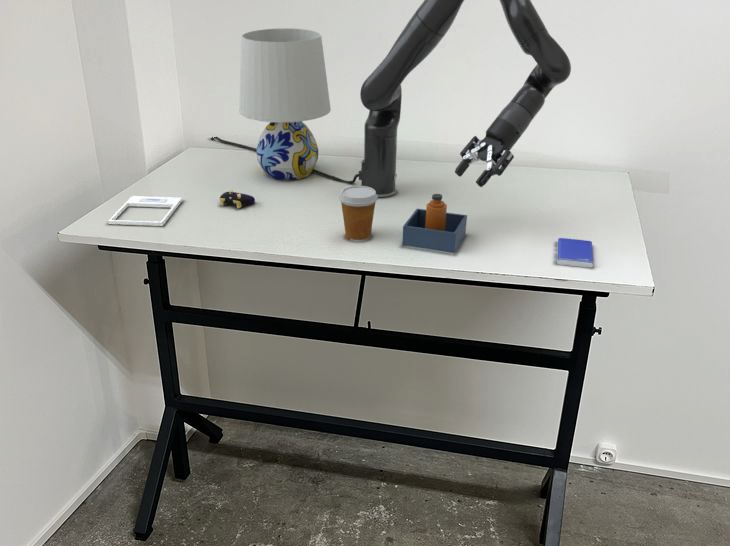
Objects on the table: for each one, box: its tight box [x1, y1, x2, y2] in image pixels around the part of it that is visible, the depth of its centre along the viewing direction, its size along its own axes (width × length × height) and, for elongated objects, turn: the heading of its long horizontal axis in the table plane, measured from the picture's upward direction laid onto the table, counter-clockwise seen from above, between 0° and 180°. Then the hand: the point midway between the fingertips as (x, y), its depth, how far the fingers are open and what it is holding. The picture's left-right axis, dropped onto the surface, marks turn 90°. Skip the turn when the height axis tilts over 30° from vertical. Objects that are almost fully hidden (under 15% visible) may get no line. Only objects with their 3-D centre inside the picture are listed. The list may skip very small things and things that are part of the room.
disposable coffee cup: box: [338, 185, 379, 241], centre depth 179 cm, size 10×10×12 cm
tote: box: [401, 208, 468, 254], centre depth 178 cm, size 13×12×6 cm
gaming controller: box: [219, 190, 256, 209], centre depth 200 cm, size 10×5×6 cm
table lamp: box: [238, 27, 332, 181], centre depth 212 cm, size 27×27×40 cm
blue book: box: [556, 237, 594, 269], centre depth 172 cm, size 2×8×12 cm
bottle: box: [425, 193, 448, 231], centre depth 176 cm, size 5×5×12 cm
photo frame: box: [107, 195, 183, 227], centre depth 195 cm, size 15×1×18 cm
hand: (467, 179), depth 175 cm, fingers open, 8 cm apart
